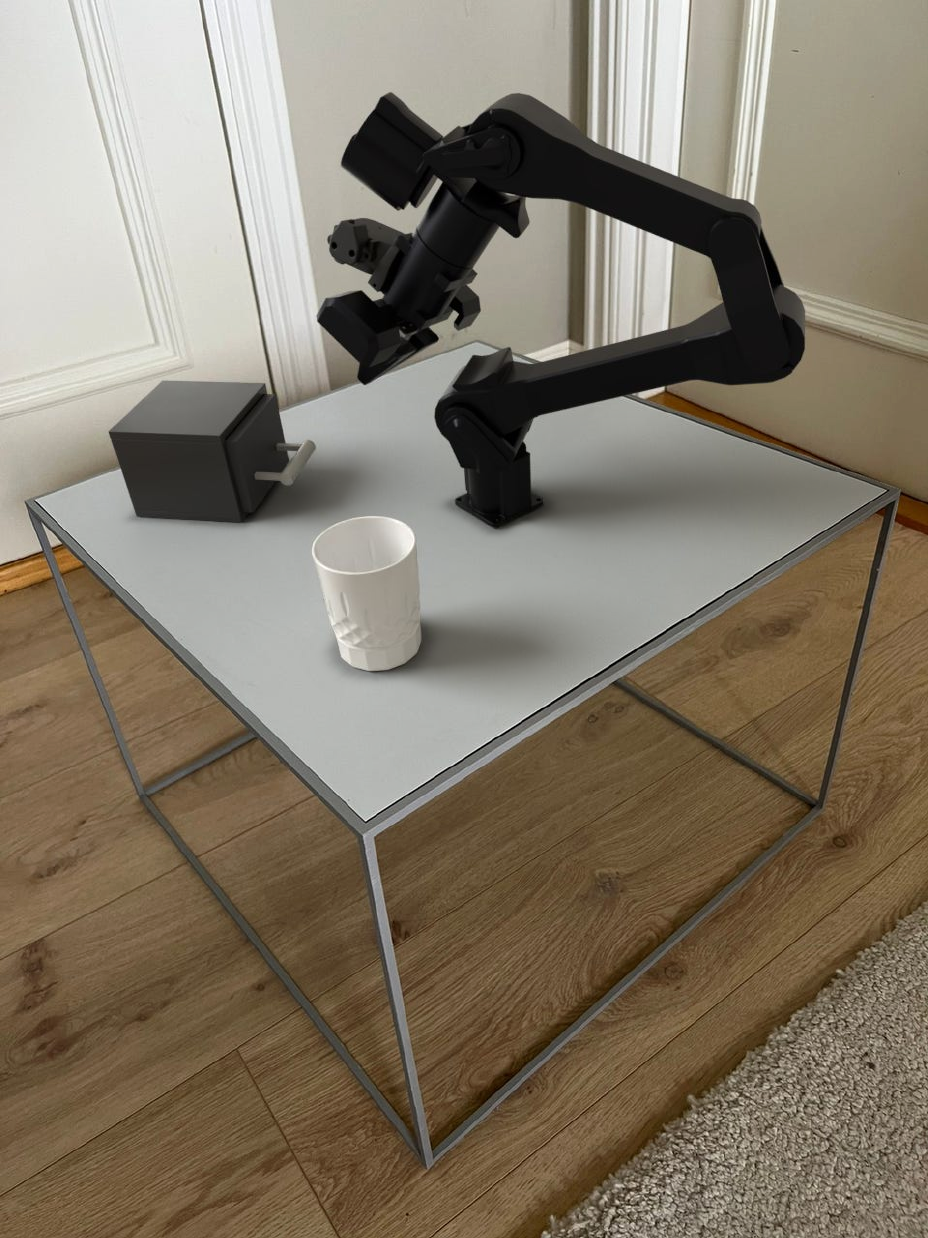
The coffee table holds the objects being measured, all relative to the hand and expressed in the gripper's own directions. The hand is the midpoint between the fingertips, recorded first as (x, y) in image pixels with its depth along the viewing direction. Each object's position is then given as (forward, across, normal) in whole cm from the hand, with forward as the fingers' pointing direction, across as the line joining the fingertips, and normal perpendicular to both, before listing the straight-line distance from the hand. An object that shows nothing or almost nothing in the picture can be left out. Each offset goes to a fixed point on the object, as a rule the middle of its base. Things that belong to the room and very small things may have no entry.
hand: (362, 380), depth 89 cm
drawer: (+18, +3, -4) cm, 18 cm away
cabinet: (+21, +4, -6) cm, 22 cm away
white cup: (+5, +18, +20) cm, 27 cm away
